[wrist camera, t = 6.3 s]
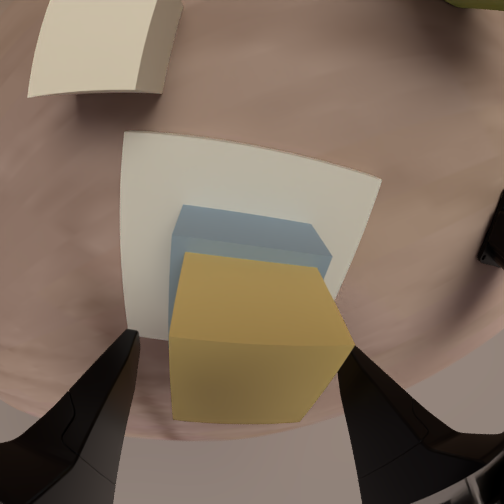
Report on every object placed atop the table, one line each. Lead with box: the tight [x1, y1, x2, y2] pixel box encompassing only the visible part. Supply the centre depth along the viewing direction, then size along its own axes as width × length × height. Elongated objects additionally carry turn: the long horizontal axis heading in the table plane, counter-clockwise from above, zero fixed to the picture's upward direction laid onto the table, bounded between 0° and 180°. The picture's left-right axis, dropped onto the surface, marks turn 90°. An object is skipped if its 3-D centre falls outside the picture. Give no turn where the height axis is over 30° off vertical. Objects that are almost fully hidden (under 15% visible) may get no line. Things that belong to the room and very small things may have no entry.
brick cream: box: [27, 0, 183, 98], centre depth 7 cm, size 4×4×4 cm
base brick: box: [168, 204, 333, 348], centre depth 12 cm, size 6×6×3 cm
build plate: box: [120, 130, 382, 341], centre depth 14 cm, size 12×12×1 cm
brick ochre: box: [169, 252, 355, 424], centre depth 9 cm, size 5×5×4 cm
